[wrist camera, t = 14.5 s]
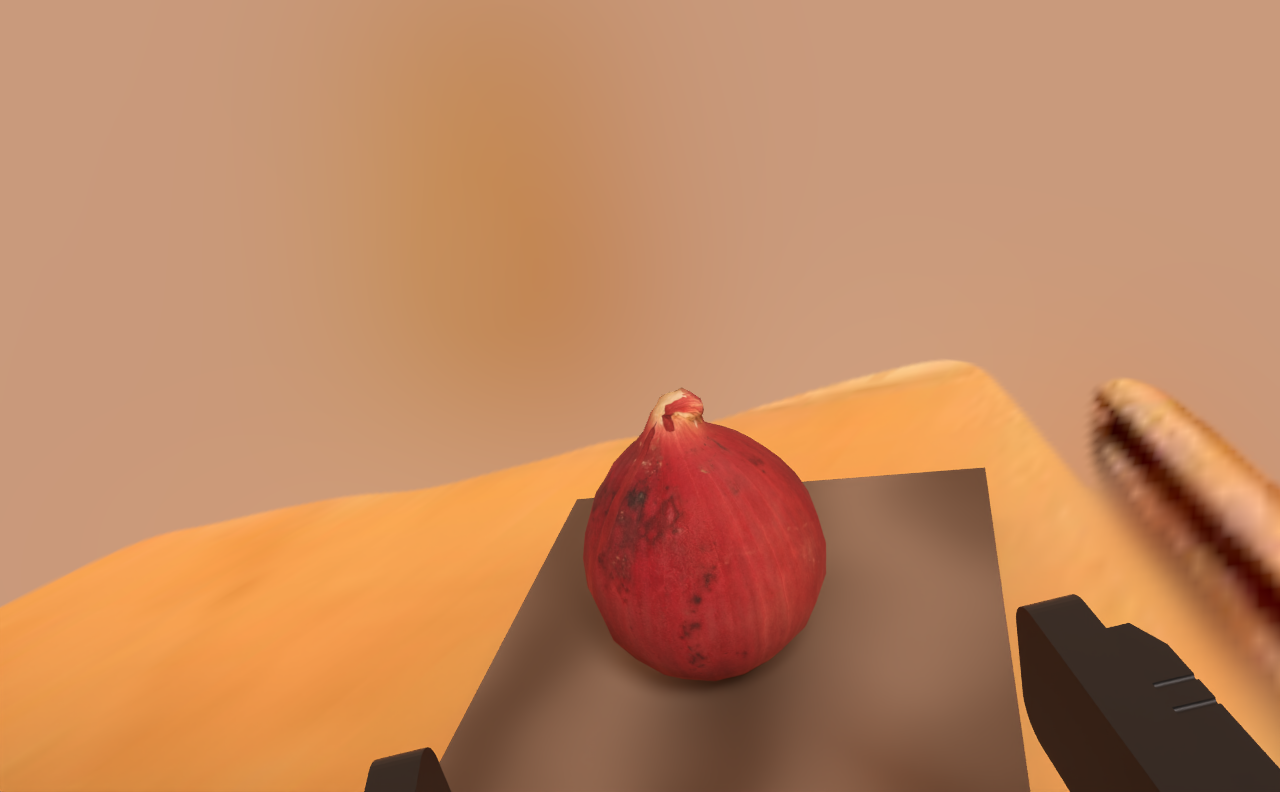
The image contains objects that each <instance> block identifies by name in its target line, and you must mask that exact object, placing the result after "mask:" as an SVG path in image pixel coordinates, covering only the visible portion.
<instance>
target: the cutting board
mask: <svg viewBox="0 0 1280 792" xmlns="http://www.w3.org/2000/svg"><path fill="white" fill-rule="evenodd" d="M802 483H803V484H804V486H805V487H806V488H807V490H808V492H809V494H810V497H811V499H812V502H813V504H814V507H815V510H816V512H817V515H818V518H819V521H820V524H821V528H822V531H823V535H824V538H825V541H826V575H825V578H824V581H823V584H822V587H821V590H820V593H819V596H818V599H817V601H816V604H815V607H814V609H813V611H812V613H811V615H810V618H809V620H808V622H807V624H806V626H805V628H804V629H803V630H802V631H800V632H799V633H798V634H797V635H796V636H795V637H794V638H793V639H792V640H791V641H790V642H789V643H788V644H787V645H786V646H785V647H784V648H783V649H782V650H781V651H780V652H779V653H777V654H776V655H775V656H774V657H773V658H771V659H770V660H769V661H767V662H765V663H763V664H761V665H760V666H758V667H756V668H754V669H752V670H750V671H749V672H748V673H746V674H744V675H741V676H736V677H731V678H726V679H722V680H718V681H705V680H689V679H681V678H676V677H671V676H667V675H664V674H662V673H660V672H658V671H657V670H655V669H653V668H651V667H649V666H647V665H646V664H644V663H642V662H640V661H638V660H637V659H635V658H634V657H633V656H632V655H630V654H629V653H628V652H627V651H626V650H624V649H623V648H622V647H621V646H620V645H618V644H617V643H616V642H615V641H614V640H613V638H612V636H611V634H610V632H609V629H608V627H607V625H606V623H605V621H604V619H603V617H602V615H601V613H600V611H599V609H598V607H597V604H596V602H595V600H594V598H593V596H592V594H591V592H590V590H589V588H588V586H587V580H586V574H585V567H584V561H583V552H584V539H585V531H586V527H587V524H588V520H589V516H590V512H591V508H592V505H593V501H594V498H589V499H577V501H576V503H575V505H574V506H573V508H572V510H571V512H570V514H569V516H568V518H567V520H566V522H565V524H564V526H563V528H562V529H561V531H560V533H559V535H558V537H557V539H556V541H555V543H554V545H553V547H552V549H551V550H550V552H549V554H548V556H547V558H546V560H545V562H544V564H543V566H542V568H541V570H540V572H539V573H538V575H537V577H536V579H535V581H534V583H533V585H532V587H531V589H530V591H529V593H528V594H527V596H526V598H525V600H524V602H523V604H522V606H521V608H520V610H519V612H518V614H517V616H516V617H515V619H514V621H513V623H512V625H511V627H510V629H509V631H508V633H507V635H506V637H505V638H504V640H503V642H502V644H501V646H500V648H499V650H498V652H497V654H496V656H495V658H494V660H493V661H492V663H491V665H490V667H489V669H488V671H487V673H486V675H485V677H484V679H483V681H482V682H481V684H480V686H479V688H478V690H477V692H476V694H475V696H474V698H473V700H472V702H471V704H470V705H469V707H468V709H467V711H466V713H465V715H464V717H463V719H462V721H461V723H460V725H459V726H458V728H457V730H456V732H455V734H454V736H453V738H452V740H451V742H450V744H449V746H448V748H447V749H446V751H445V753H444V755H443V757H442V759H441V761H440V763H439V764H440V766H441V768H442V771H443V773H444V776H445V778H446V780H447V783H448V785H449V787H450V790H451V792H1030V787H1029V780H1028V773H1027V766H1026V758H1025V751H1024V744H1023V737H1022V730H1021V723H1020V715H1019V708H1018V701H1017V694H1016V687H1015V680H1014V672H1013V665H1012V658H1011V651H1010V644H1009V637H1008V630H1007V622H1006V615H1005V608H1004V601H1003V594H1002V587H1001V579H1000V572H999V565H998V558H997V551H996V544H995V536H994V529H993V522H992V515H991V508H990V501H989V494H988V486H987V479H986V472H985V468H974V469H961V470H948V471H936V472H923V473H910V474H897V475H884V476H871V477H859V478H846V479H833V480H820V481H807V482H802Z"/></svg>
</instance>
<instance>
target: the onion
mask: <svg viewBox="0 0 1280 792" xmlns="http://www.w3.org/2000/svg"><path fill="white" fill-rule="evenodd" d="M703 410H704V409H703V404H702V402H701V399H700V398H698V397H697V396H696V395H694V394H693V393H691V392H689V391H687V390H685V389H683V388H680V389H678V390H676V391H674V392H669V393H667V394H664V395H663V396H661V397H660V398H659V400H658V403H657V405H656V406H655V408H654V409H653V410H652V412H651V413H650V416H649V419H648V421H647V424H646V426H645V429H644V431H643V432H642V434H641V435H640V436H639V438H638V439H637V440H636V441H634V442H633V443H632V444H631V445H630V446H629V447H628V448H627V449H626V450H625V451H624V452H623V453H622V454H621V455H620V456H619V457H618V459H617V460H616V461H615V462H614V463H613V465H612V467H611V469H610V471H609V473H608V474H607V476H606V478H605V480H604V481H603V483H602V484H601V486H600V487H599V489H598V490H597V492H596V494H595V498H594V501H593V505H592V508H591V512H590V516H589V520H588V524H587V527H586V531H585V539H584V552H583V561H584V567H585V574H586V580H587V586H588V588H589V590H590V592H591V594H592V596H593V598H594V600H595V602H596V604H597V607H598V609H599V611H600V613H601V615H602V617H603V619H604V621H605V623H606V625H607V627H608V629H609V632H610V634H611V636H612V638H613V640H614V641H615V642H616V643H617V644H618V645H620V646H621V647H622V648H623V649H624V650H626V651H627V652H628V653H629V654H630V655H632V656H633V657H634V658H635V659H637V660H638V661H640V662H642V663H644V664H646V665H647V666H649V667H651V668H653V669H655V670H657V671H658V672H660V673H662V674H664V675H667V676H671V677H676V678H681V679H689V680H705V681H718V680H722V679H726V678H731V677H736V676H741V675H744V674H746V673H748V672H749V671H750V670H752V669H754V668H756V667H758V666H760V665H761V664H763V663H765V662H767V661H769V660H770V659H771V658H773V657H774V656H775V655H776V654H777V653H779V652H780V651H781V650H782V649H783V648H784V647H785V646H786V645H787V644H788V643H789V642H790V641H791V640H792V639H793V638H794V637H795V636H796V635H797V634H798V633H799V632H800V631H802V630H803V629H804V628H805V626H806V624H807V622H808V620H809V618H810V615H811V613H812V611H813V609H814V607H815V604H816V601H817V599H818V596H819V593H820V590H821V587H822V584H823V581H824V578H825V575H826V541H825V538H824V535H823V531H822V528H821V524H820V521H819V518H818V515H817V512H816V510H815V507H814V504H813V502H812V499H811V497H810V494H809V492H808V490H807V488H806V487H805V486H804V484H803V483H802V482H801V480H800V479H799V477H798V476H797V475H796V473H795V472H794V471H793V470H792V469H791V468H790V467H789V466H788V465H787V464H786V463H785V462H784V461H783V460H782V459H781V458H780V457H778V456H777V455H775V454H774V453H773V452H771V451H770V450H768V449H767V448H766V447H764V446H763V445H761V444H759V443H758V442H756V441H755V440H753V439H751V438H750V437H748V436H746V435H744V434H742V433H740V432H738V431H736V430H733V429H730V428H727V427H723V426H720V425H716V424H711V423H708V422H704V420H703V417H702V414H703Z"/></svg>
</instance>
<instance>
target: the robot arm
mask: <svg viewBox="0 0 1280 792" xmlns="http://www.w3.org/2000/svg"><path fill="white" fill-rule="evenodd" d="M1016 624H1017V634H1018V645H1019V656H1020V667H1021V678H1022V689H1023V697H1024V702H1025V706H1026V710H1027V714H1028V717H1029V720H1030V723H1031V725H1032V728H1033V730H1034V732H1035V734H1036V736H1037V738H1038V740H1039V742H1040V744H1041V746H1042V747H1043V749H1044V751H1045V752H1046V754H1047V755H1048V757H1049V759H1050V760H1051V762H1052V763H1053V765H1054V767H1055V768H1056V770H1057V771H1058V773H1059V775H1060V776H1061V778H1062V779H1063V781H1064V783H1065V784H1066V786H1067V787H1068V789H1069V791H1070V792H1280V768H1279V767H1278V766H1277V765H1276V764H1275V763H1274V762H1273V761H1272V760H1271V759H1270V757H1269V756H1268V755H1267V754H1266V753H1265V752H1264V751H1263V750H1262V749H1261V747H1260V746H1259V745H1258V744H1257V743H1256V742H1255V741H1254V740H1253V739H1252V737H1251V736H1250V735H1249V734H1248V733H1247V732H1246V731H1245V730H1244V729H1243V727H1242V726H1241V725H1240V724H1239V723H1238V722H1237V721H1236V720H1235V719H1234V717H1233V716H1232V715H1231V714H1230V713H1229V712H1228V711H1227V710H1226V709H1225V708H1224V706H1223V705H1222V704H1218V703H1217V702H1216V699H1215V696H1214V695H1213V694H1212V693H1211V692H1210V691H1209V690H1208V689H1207V688H1206V686H1205V685H1204V684H1203V683H1202V682H1201V681H1200V680H1199V679H1197V680H1196V679H1195V677H1194V673H1193V672H1192V671H1191V670H1190V669H1189V668H1188V667H1187V665H1186V664H1185V663H1184V662H1183V661H1182V660H1181V659H1180V658H1179V657H1178V655H1177V654H1176V653H1175V652H1174V651H1173V650H1172V649H1171V648H1170V647H1169V645H1168V644H1166V643H1164V642H1162V641H1161V640H1159V639H1157V638H1155V637H1153V636H1152V635H1150V634H1148V633H1146V632H1144V631H1143V630H1141V629H1139V628H1137V627H1136V626H1134V625H1132V624H1130V623H1126V624H1122V625H1118V626H1114V627H1110V628H1106V627H1105V626H1104V625H1103V624H1102V623H1101V621H1100V620H1099V619H1098V618H1097V617H1096V615H1095V614H1094V613H1093V612H1092V611H1091V609H1090V608H1089V607H1088V606H1087V605H1086V603H1085V602H1084V601H1083V600H1082V599H1081V598H1080V597H1079V596H1077V595H1075V594H1072V595H1068V596H1063V597H1059V598H1055V599H1051V600H1047V601H1043V602H1039V603H1034V604H1030V605H1026V606H1022V607H1019V608H1018V609H1017V613H1016ZM364 792H451V790H450V787H449V785H448V783H447V780H446V778H445V776H444V773H443V771H442V768H441V766H440V764H439V761H438V759H437V757H436V755H435V753H434V752H433V750H432V749H431V748H428V747H427V748H423V749H418V750H414V751H410V752H406V753H402V754H398V755H393V756H389V757H385V758H381V759H377V760H375V761H374V762H373V763H372V764H371V766H370V770H369V773H368V778H367V782H366V786H365V791H364Z"/></svg>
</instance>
